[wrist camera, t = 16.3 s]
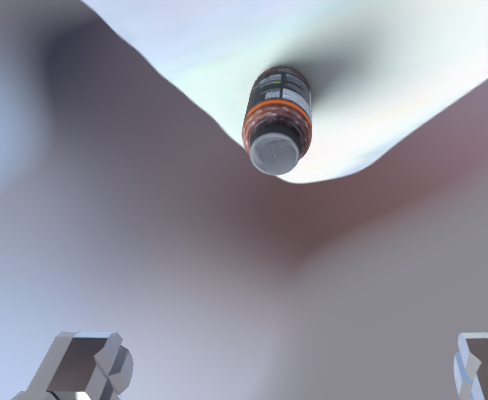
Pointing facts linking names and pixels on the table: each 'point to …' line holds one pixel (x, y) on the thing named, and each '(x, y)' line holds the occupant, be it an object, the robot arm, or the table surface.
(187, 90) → the table surface
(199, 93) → the table surface
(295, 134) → the supplement bottle
